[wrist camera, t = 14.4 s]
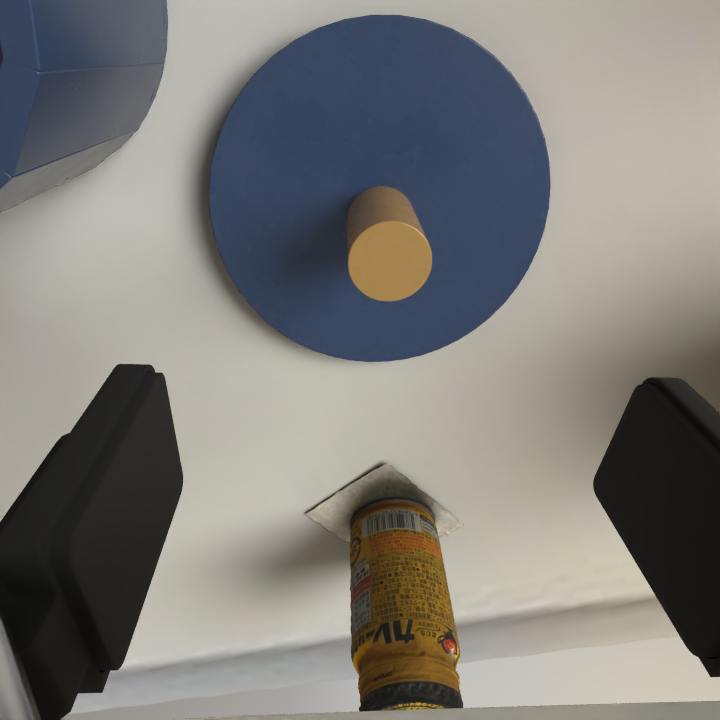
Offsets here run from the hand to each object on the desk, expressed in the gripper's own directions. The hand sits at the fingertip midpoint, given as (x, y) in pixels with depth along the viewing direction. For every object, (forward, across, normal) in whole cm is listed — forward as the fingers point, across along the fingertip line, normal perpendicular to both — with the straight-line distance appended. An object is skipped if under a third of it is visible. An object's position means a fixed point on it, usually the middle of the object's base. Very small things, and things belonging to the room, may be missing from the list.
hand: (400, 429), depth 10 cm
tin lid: (+14, -1, 0) cm, 14 cm away
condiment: (+15, -3, +21) cm, 26 cm away
